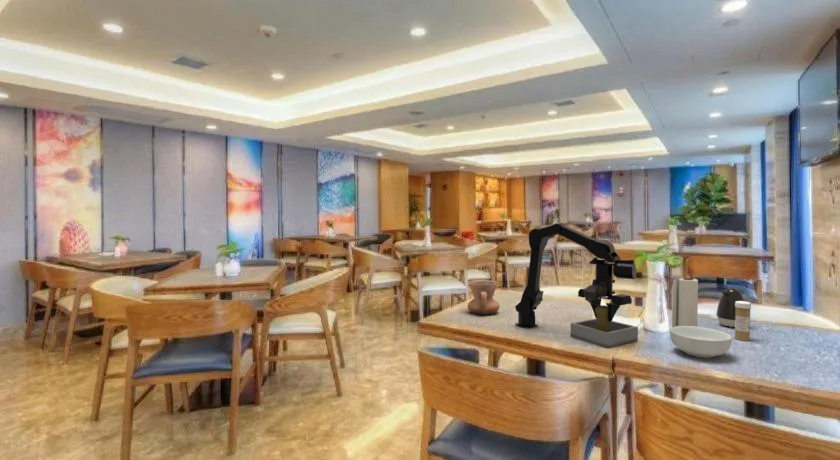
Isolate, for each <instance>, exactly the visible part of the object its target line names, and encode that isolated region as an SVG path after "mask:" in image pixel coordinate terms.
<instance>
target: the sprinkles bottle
mask: <svg viewBox="0 0 840 460" xmlns="http://www.w3.org/2000/svg"><path fill="white" fill-rule="evenodd" d="M735 308H736V313H735V328H734V338H735V340H737V341H738V340H739V341H745V342H746V341H750V340H751V338H750V337H751V335H750V333H751V308H752V303H751V302H750V301H736V302H735Z"/></svg>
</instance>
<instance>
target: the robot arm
mask: <svg viewBox="0 0 840 460" xmlns="http://www.w3.org/2000/svg"><path fill="white" fill-rule="evenodd" d="M557 235H559V236H562V237H563V238H565V239H567V240H569V241H572V242H573V243H575V244H578V245H579V246H581V247H584V248H585V249H587V250H588V252H589V253H591V254H592V255H593V256H595V257H593V258H592V260H591V261H589V264H590V265H595V278H594V279H592V284H591V285H588V286H586V287H585V288H584V287H583V288H579V290H578V292H577V297H579V298H583V299H584V300H585V301H587V302H588V303H589V304H590V307H591V309H592V311H593V315H594V317H595V319H596V318H597V314H596V312H595V308H596V307H597V306H600V305H602V304H601V303H602V299H603V300H608V301H609V302H606V306H608V319H609V322H611V321H613V319H614V317H615V315H616V313H617V311H618V310H619V309H620V307H621V306H625V305H631V304H632V301H633V299H632V297H631V295H628V294H624V293H619V294H618V293H617V294H616V292H615V290H613V284H615V282H616V280H615V279H613V276H614V277H616V279H622V280H623V279H625V280H636V277H637V270H638V268H637V266H636V265H637V264H636V260H635V259H621V257H620V256H619V255H618V253H617V252H616V251H615V246H614V244H613V243H612V242H610V241H606V240H603V239H599V238H594V237H591V236H589V235H587V234H585V233H583V232H580V231H578V230H576V229H574V228H572V227H570V226H567V225H565V224H564V223H562V222H557V223H554V224H552V225H549V226H546V227H541V228H540V227H537V228H532V229H531V230H530V231H529V232H528V245H529V249H530V257H529V264H528V265H529V266H528V273H527V283H526V286H525V288H524V290H523V292H522V295H521V298H520V302H518V304H517V303H516V305H515V311H516V312H517V314H518V315H517V316H518V317H517V318H518V321H517V323H515V326H519V327H521V328H524V329H529V328H534V327H538V324H536V312H535V310H537V308H538V306H539V305H541V303H542V302H543V300H544V298H543V295H544V290H541V289H540V279H541V274H542V273H541V272H542V262H543V256H544V251H545V249H546V247H547V245H548V243H549V242H548V241H549V239H550V238H551V237H554V236H557Z"/></svg>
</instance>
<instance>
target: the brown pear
mask: <svg viewBox="0 0 840 460" xmlns="http://www.w3.org/2000/svg"><path fill="white" fill-rule="evenodd" d="M595 312H596V314H597V318H596V317H595V319H596V326H595V329H597V330H601V331H604V332H611V326H610V322H609V319H608V306H607V305H602V304H601V305H600V306H597V307H596V308H595Z"/></svg>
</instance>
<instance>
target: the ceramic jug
mask: <svg viewBox="0 0 840 460" xmlns="http://www.w3.org/2000/svg"><path fill="white" fill-rule="evenodd" d="M469 288H470V290H471V293H472V296H473V298H472V299H471V300H470V301H469V302H467V309H468V310H469V311H470V312H471V313H474V314H477V315H484V314H485V315H492V314H495V313H497V312H498V311H499V310H500V304H499V302H498V301H497V300H496V299H494V295H495V292H496V288H497V281H493V280H490V279H488V280H487V279H486V280H484V279H478V280H476V279H475V280H472V281H469Z"/></svg>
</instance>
